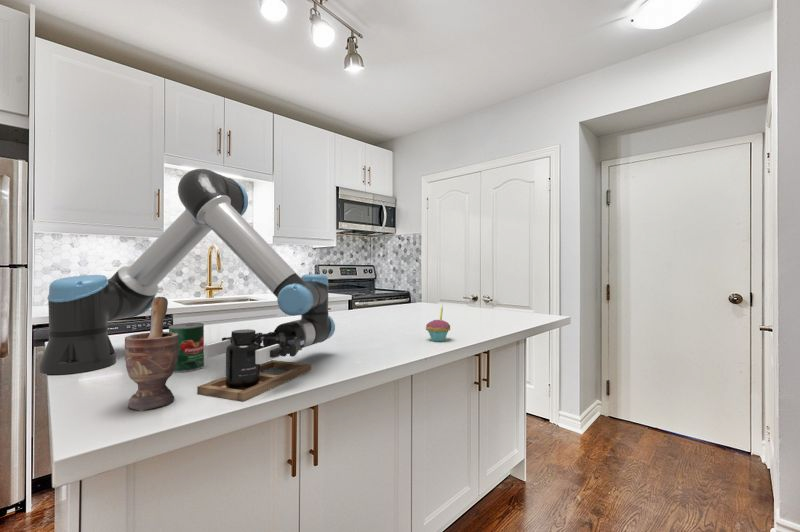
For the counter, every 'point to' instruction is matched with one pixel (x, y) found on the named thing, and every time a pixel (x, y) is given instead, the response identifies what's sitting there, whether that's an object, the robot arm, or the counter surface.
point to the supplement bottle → (242, 360)
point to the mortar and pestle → (152, 360)
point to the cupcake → (438, 329)
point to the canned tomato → (189, 346)
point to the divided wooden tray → (265, 383)
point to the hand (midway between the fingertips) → (230, 354)
